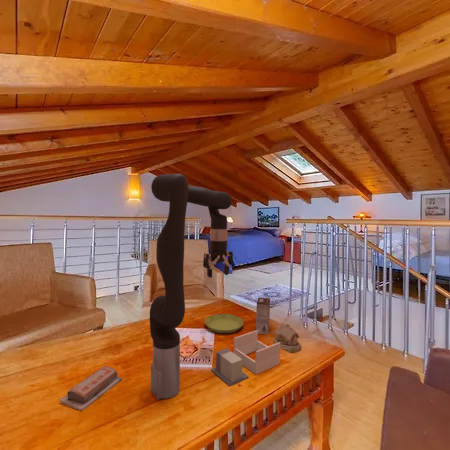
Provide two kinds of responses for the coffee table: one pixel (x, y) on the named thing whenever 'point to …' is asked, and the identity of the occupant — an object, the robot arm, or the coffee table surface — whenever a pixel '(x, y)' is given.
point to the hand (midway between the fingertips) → (218, 275)
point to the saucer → (224, 323)
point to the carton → (264, 354)
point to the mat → (227, 378)
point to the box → (229, 364)
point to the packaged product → (91, 388)
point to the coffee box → (263, 315)
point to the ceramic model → (287, 338)
